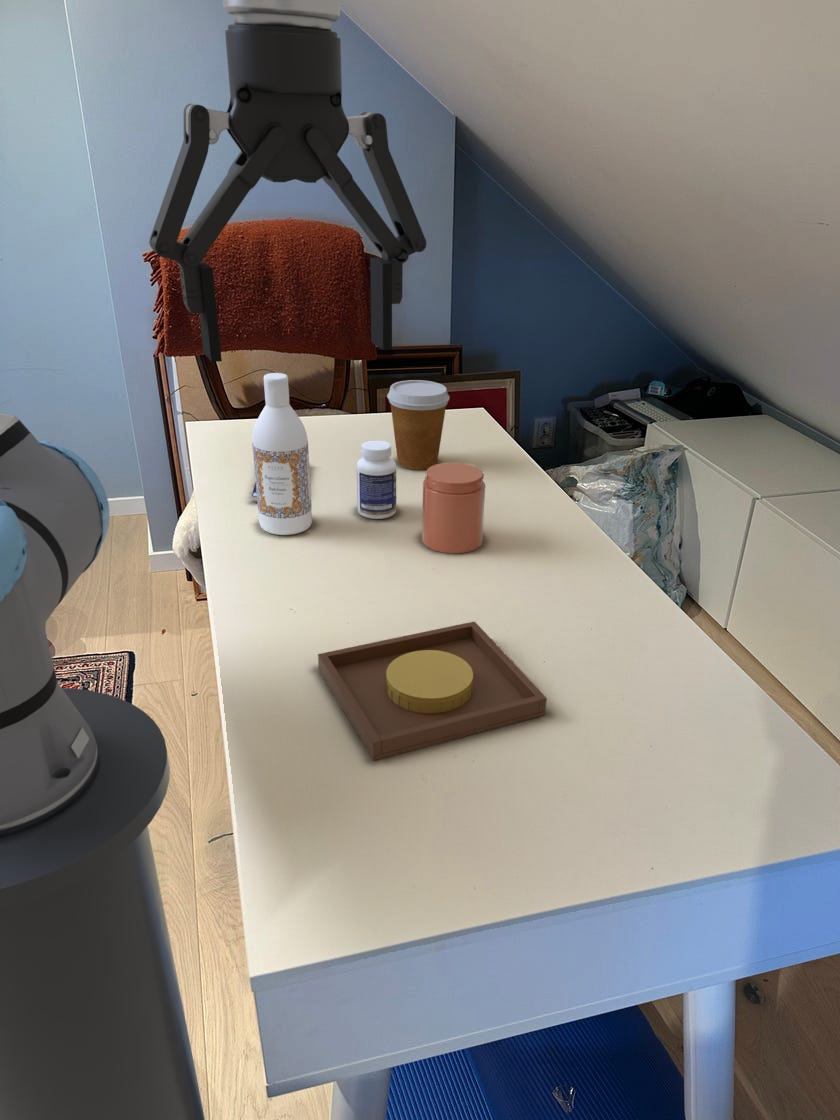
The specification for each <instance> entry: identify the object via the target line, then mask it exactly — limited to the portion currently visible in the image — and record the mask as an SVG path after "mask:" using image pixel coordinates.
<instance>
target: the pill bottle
mask: <svg viewBox="0 0 840 1120" xmlns="http://www.w3.org/2000/svg"><path fill="white" fill-rule="evenodd" d="M360 453H361V458H360V459H359V460H358V461H357V462H356V494H357V495H356V496H357V497H356V498H357V499H356V500H357V512H358V514H359V515H360V516H362V517H364V518H367V519H372V520H382V519H388V518H390V517H393V516H394V515H395V514H396V512H397V464H396V462H395V460H394V459H393V458H391V456H392V445H391V443H389V442H387V441H384V440H368V441H365V442H363V443H362V444H361V452H360Z"/></svg>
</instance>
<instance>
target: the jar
mask: <svg viewBox="0 0 840 1120" xmlns="http://www.w3.org/2000/svg"><path fill="white" fill-rule="evenodd" d="M484 476H485V473H484V472H483V470H481V469H480V468H479V467H476V466H474V465H471V464H467V463H462V462H442V463H437V464H436V465H433V466H431V467H429V468H428V469H426V472H425V476H424V480H423V481H422V512H421V513H422V516H421V518H422V520H421V541H422V543H423V545H424V546H425V547H427V548H429V549H430V550H432V551H434V552H439V553H444V554H463V553H469V552H473V551H474V550H477V549H478V548H479V547H481V546H482V544H483V536H484V535H483V534H484V516H485V515H484V514H485V502H486V501H485V498H486V497H485V496H486V483H485V482H484Z"/></svg>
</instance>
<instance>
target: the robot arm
mask: <svg viewBox="0 0 840 1120" xmlns="http://www.w3.org/2000/svg"><path fill="white" fill-rule="evenodd" d="M222 8H223V10H224V11H225V12H226V13H227V14H228V15H231V16H233V24H228V25H227V29H226V30H224V33H225V46H226V47H225V48H226V59H227V71H228V83H229V84H228V85H229V95H230V97H229V104H228V107H227V110H226V111H222V110H216V109H212V108H206V107H205V106H204V105H201V104H197V103H188V104H186V105H185V106H184V108H183V142H182V144H181V147H180V150H179V153H178V156H177V159H176V161H175V164H174V167H173V170H172V173H171V176H170V179H169V181H168V185H167V187H166V190H165V193H164V195H163V199H162V201H161V205H160V208H159V212H158V214H157V217H156V220H155V223H154V225H153V229H152V231H151V233H150V236H149V246H150V249H152V251H153V252H154V253H156V254H157V255H158V256H159V257H161V258H165V259H169V260H171V261H174V262H176V263H177V264H178V267H179V273H180V282H181V283H180V284H181V292H182V301H183V303H184V306H185V308H186V309H187V311H188V312H189V313H190V314H199V322H200V330H201V339H202V349H203V354H204V355H205V356H206V357H207V358H208V360H209V361H210V362H211V363H216V362H223V359H222V349H221V340H220V329H219V320H218V310H217V299H216V290H215V280H214V279H215V278H214V268H213V267H212V266H211V265H210V264H208V263H207V262H206V261H202V260H203V259H204V258H205V256H206V255H207V254H208V252H209V250H210V249H211V248H212V246H213V244H214V243H215V242H216V240H217V239H218V238H219V236H220V235H221V233H222V231H224V229H225V227H226V226H227V224H228V223H229V222H230V221H231V219H232V217H233V215H234V214H235V213H236V211H237V210H238V208H239V207H240V205H241V204H242V203H243V201H244V200H245V198H246V197H247V195H248V194H249V192H250V191H251V190H252V189H253V188H254V187H255V186H256V185H257V184H258V182H259V181H260V180H261V178H263V179H265V180H266V181H269V182H271V183H287V182H290V181H294V180H295V181H300V182H303V183H306V184H311V183H312V184H316V183H317V181H318V182H319V180H321V179H322V180H323V181H324V183H325V184H326V185H327V186H329V187H330V189H331V190H332V191H333V192H334V194H335V195H336V197H337V198H338V199H339V201H340V203H342V204H343V206H344V207H345V209H346V210H347V211H348V212H349V214H350V215H351V216H352V218H353V219H354V220H355V222H356V223H357V224H358V226H359V227H360V228H361V230H362V231H363V232H364V234H365V235H366V236H367V238H369V240H370V241H371V243H372V244H373V245H374V247H375V249H377V251H378V252H379V253H380V254H381V257H369V260H370V261H369V262H370V263H369V266H370V270H369V271H370V323H371V324H370V334H371V335H370V336H371V338H370V339H371V343H372V344H373V345H374V346H376V347H378V348H379V349H381V350H382V351H391V350H393V305H399V304H401V302H402V299H403V268H404V267H403V264H404V263H407V261H408V260H409V256H411V255H413V254H415V253H422V252H424V250H426V248H427V239H426V236H425V235H424V232H423V229H422V226H421V225H420V222H419V220H418V217H417V214H416V212H415V210H414V207H413V206H412V202H411V200H410V197H409V195H408V193H407V190H406V187H405V186H404V183H403V180H402V178H401V175H400V173H399V171H398V169H397V165H396V163H395V161H394V157H393V156H392V154H391V151H390V148H389V139H388V127H387V120H386V118H385V116H384V115H383V114H381V113H378V112H372V111H370V112H369V111H364V112H362V113H361V114H360V115H349V116H346V113H345V111H344V108H343V103H342V102H343V101H342V97H343V85H342V84H343V83H342V82H343V81H342V50H341V49H342V47H341V38H340V37H338V33H337V31H332V23H334V22H337V21H339V19H340V18H341V4H340V0H222ZM225 130H226V131H227V134H229V136H230V137H231V139H232V141H234V143H235V145H236V146H237V147H238V149H239V150H240V151H239V153H238V155H237V156H236V158H235V159H234V161H232V164H231V165H230V167H229V168H228V171H227V173H226V176H225V177H224V178H223V179H222V181H221V183H220V184H219V185H218V187H217V189H216V190H215V192H214V193H213V195H212V196H211V197H210V199H209V200H208V202H207V203H206V204H205V206H204V208H203V209H202V211H201V212H200V214H199V215H198V217H197V218H196V219H195V221H194V222H193V224H192V225H191V227H190V228H189V230H188V231H187V233H186V234H185V235H184V237H183V238H182V239H181V241H179V240H178V239H179V236H180V235H181V231H182V228H183V225H184V223H185V219H186V216H187V214H188V211H189V208H190V206H191V203H192V199H193V196H194V194H195V191H196V190H197V189H196V188H197V185H198V183H199V180H200V177H201V174H202V171H203V169H204V166H205V163H206V160H207V157H208V154H209V148H210V145H215V144H217V142H218V141H219V140H220V135H221V133H222V132H223V131H225ZM349 135H350V136H351V137H352V140H353V142H354V145H355V146H356V147H358V148H359V149H361V150H362V154H363V156H364V160H365V162H366V164H367V167H368V170H369V171H370V173H371V176H372V178H373V181H374V183H375V185H376V188H377V190H378V192H379V195H380V197H381V199H382V201H383V204H384V207H385V209H386V211H387V213H388V216H389V218H390V220H391V223H392V225H393V227H394V230H395V232H396V234H397V236H395V234H394V233H393V231H392V230H391V229H390V227H389V226H388V224H387V223H386V222H385V221H384V220H383V218H382V216H381V215H380V214H379V212H378V211H377V209H375V207H374V206H373V204H372V203H371V201H370V200H369V199H368V197H367V196H366V195H365V193H364V192H363V191H362V189H361V188H360V187H359V185H358V183H356V181H355V179H354V177H353V174H352V172H351V171H350V170H349V169H348V168H347V166H346V165H345V163H344V162H343V161H342V159H341V158H340V156H339V155H338V154H339V152H340V150H341V149H342V147H343V145H344V144H345V142H346V140H347V139H348V137H349ZM109 525H110V504H109V499H108V496H107V493H106V490H105V488H104V486H103V483H102V482H101V479H100V478H99V476H98V474H97V473H96V472H95V470H94V469H93V468H92V467H91V466H90V465H89V464H88V462H86V461H85V460H84V459H83V458H81V457H80V456H79V455H78V454H77V453H75V452H74V451H72V450H70V449H69V448H67V447H65V446H63V445H55V444H52V443H50V442H49V441H47V440H41V439H40V440H39V439H37V438H36V436H34V435H33V433H32V432H31V431H30V430H29V428H27V427H26V425H25V424H24V423H23V422H22V421H21V420H20V419H19V418H18V417H17V416H16V415H13V414H8V413H2V412H0V838H1V837H6V836H9V835H13V834H16V833H19V832H22V831H25V830H27V829H30V828H32V827H35V826H37V825H39V824H41V823H43V822H46V821H47V820H49V819H51V818H53V817H55V816H56V815H58V814H59V813H61V812H63V811H64V810H65V809H67V808H68V807H70V806H71V805H72V804H73V803H74V802H76V801H77V800H78V799H79V798H80V797H81V796H82V795H83V794H84V793H85V792H86V790H87V789H88V788H89V787H90V785H91V784H92V782H93V780H94V779H95V777H96V774H97V771H98V768H99V753H98V748H97V744H96V740H95V738H94V736H93V733H92V731H91V729H90V727H89V725H88V724H87V722H86V721H85V720H84V718H83V717H82V715H81V714H80V713H79V711H78V710H77V709H76V707H75V706H74V704H73V703H72V702H71V700H70V699H69V698H68V696H67V695H66V693H65V692H64V691H63V689H62V688H63V687H61V685H60V684H59V682H58V678H57V673H56V670H55V665H54V661H53V656H52V652H51V648H50V645H49V639H48V636H47V635H48V634H47V631H46V628H47V627H46V626H47V621H48V619H49V618H50V617H51V615H52V614H53V613H54V611H55V610H56V609H57V607H58V606H59V605H60V603H62V601H63V599H64V598H65V597H66V596H67V594H68V593H69V592H70V590H71V589H72V588H73V586H74V585H75V584H76V582H77V581H78V579H79V578H80V577H81V575H82V574H84V573H85V572H86V571H87V570H88V569H89V568H90V567H91V565H92V564H93V563H94V562H95V560H96V559H97V558H98V555H99V553H100V550H101V547H102V545H103V543H104V540H105V538H106V536H107V533H108V530H109Z"/></svg>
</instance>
